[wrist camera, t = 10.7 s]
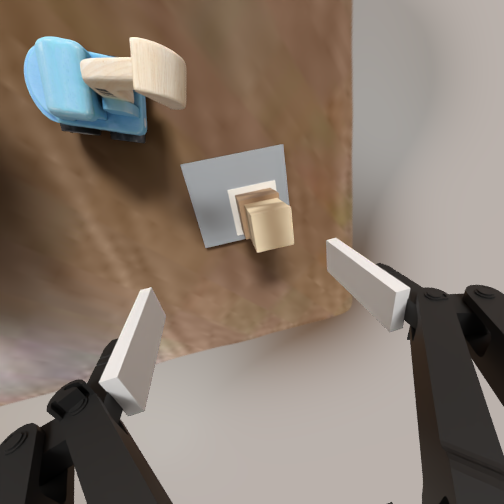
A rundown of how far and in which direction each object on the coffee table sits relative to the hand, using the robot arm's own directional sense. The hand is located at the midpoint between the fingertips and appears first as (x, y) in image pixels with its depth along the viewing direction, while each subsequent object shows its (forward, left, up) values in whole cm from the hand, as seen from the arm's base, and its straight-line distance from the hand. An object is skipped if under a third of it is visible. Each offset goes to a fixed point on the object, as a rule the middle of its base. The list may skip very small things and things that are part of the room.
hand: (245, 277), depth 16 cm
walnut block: (+5, -1, -22) cm, 23 cm away
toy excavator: (-9, +16, -23) cm, 30 cm away
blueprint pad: (+3, +1, -23) cm, 23 cm away
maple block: (+5, -1, -17) cm, 18 cm away
